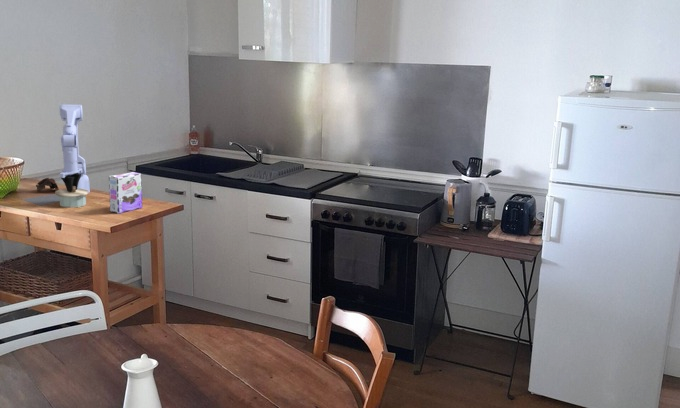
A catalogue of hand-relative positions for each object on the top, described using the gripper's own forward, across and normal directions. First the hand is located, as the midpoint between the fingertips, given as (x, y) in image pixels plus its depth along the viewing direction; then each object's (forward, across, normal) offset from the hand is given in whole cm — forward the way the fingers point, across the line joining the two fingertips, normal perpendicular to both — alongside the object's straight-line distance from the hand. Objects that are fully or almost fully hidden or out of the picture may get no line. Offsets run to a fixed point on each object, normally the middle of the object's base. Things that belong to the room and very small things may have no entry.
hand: (72, 190), depth 290 cm
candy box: (+7, -1, +26) cm, 27 cm away
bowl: (+7, 0, 0) cm, 7 cm away
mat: (+7, -4, -16) cm, 18 cm away
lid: (+1, 0, 0) cm, 1 cm away
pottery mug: (+7, -20, -26) cm, 33 cm away
